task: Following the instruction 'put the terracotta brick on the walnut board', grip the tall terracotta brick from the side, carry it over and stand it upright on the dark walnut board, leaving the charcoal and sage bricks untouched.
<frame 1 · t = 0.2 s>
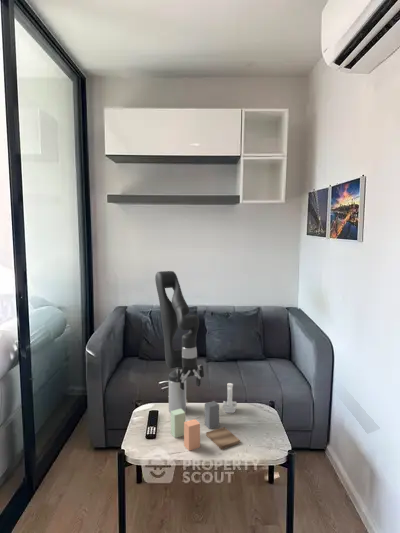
hand: (190, 387, 185), 18 cm above the table, tool pointing down, fingers open, 8 cm apart
charcoal brick: (211, 425, 184), on the table
walnut board: (222, 439, 171), on the table
sage brick: (178, 434, 176), on the table
terracotta brick: (192, 446, 166), on the table
figurine: (229, 411, 198), on the table
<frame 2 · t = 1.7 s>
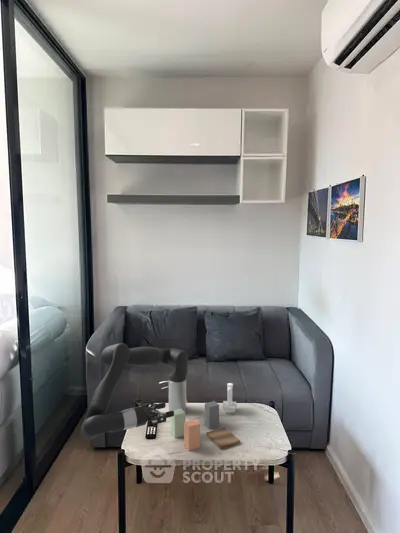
hand: (169, 408, 158), 20 cm above the table, tool horizontal, fingers open, 8 cm apart
nothing on the table moved.
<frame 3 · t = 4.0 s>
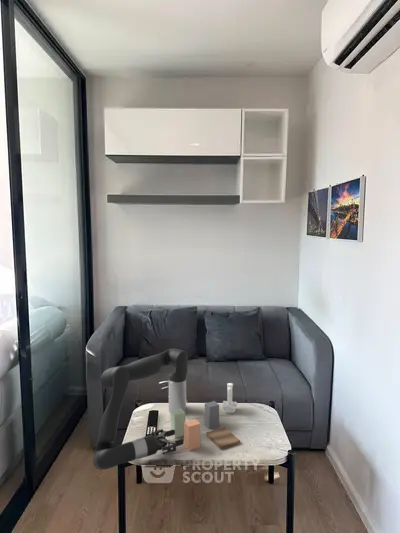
hand: (178, 436, 162), 6 cm above the table, tool horizontal, fingers open, 8 cm apart
nothing on the table moved.
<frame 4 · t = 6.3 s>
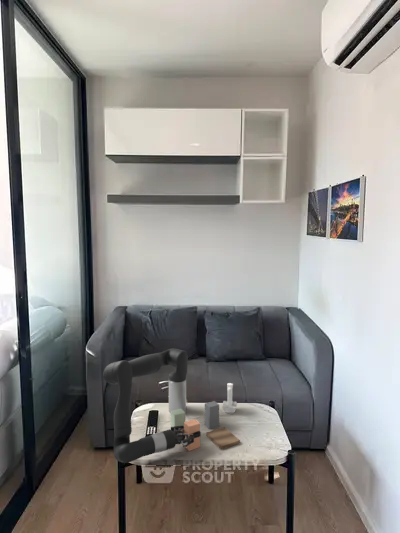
hand: (197, 430, 167), 7 cm above the table, tool horizontal, fingers closed on terracotta brick, 4 cm apart
terracotta brick: (191, 446, 166), on the table, touching gripper
everything else where it was.
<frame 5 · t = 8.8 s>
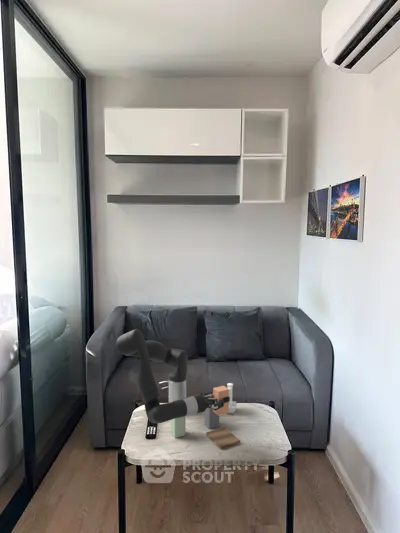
hand: (226, 396, 170), 20 cm above the table, tool horizontal, fingers closed on terracotta brick, 4 cm apart
terracotta brick: (220, 411, 170), point 13 cm above the table, touching gripper
everything else where it was.
when the fingers open (9 cm above the table, at t = 11.8 s): terracotta brick drops 1 cm, resting on walnut board.
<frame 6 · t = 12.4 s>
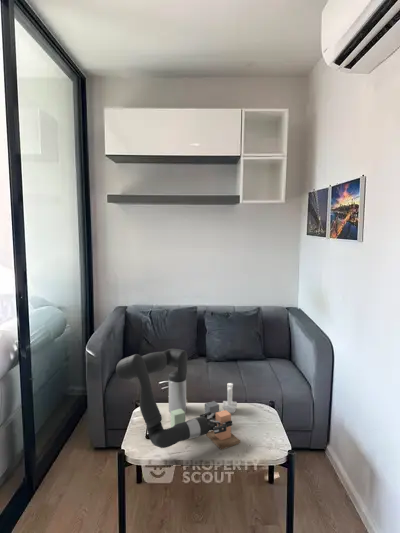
hand: (226, 418, 171), 10 cm above the table, tool horizontal, fingers open, 8 cm apart
terracotta brick: (223, 436, 171), point 1 cm above the table, touching walnut board
everything else where it was.
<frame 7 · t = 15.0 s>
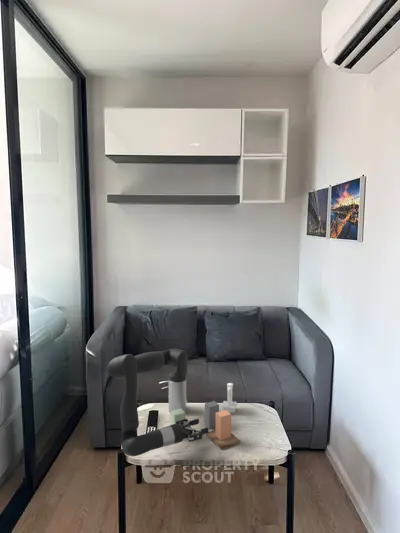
hand: (203, 425, 165), 10 cm above the table, tool horizontal, fingers open, 8 cm apart
nothing on the table moved.
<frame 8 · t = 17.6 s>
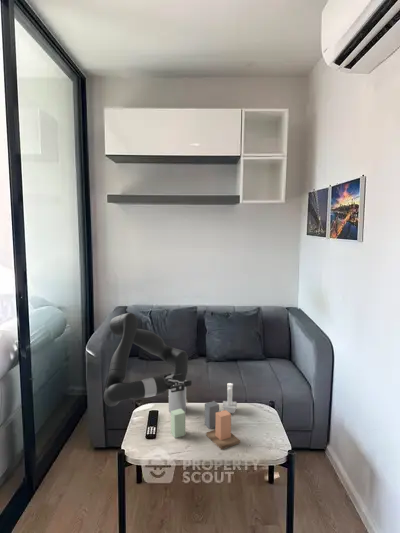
hand: (186, 379, 165), 30 cm above the table, tool horizontal, fingers open, 8 cm apart
nothing on the table moved.
at the end: terracotta brick inside the target area on the walnut board (0.1 cm from its centre), point 1.5 cm above the walnut board's base; charcoal brick moved 0.0 cm from its start; sage brick moved 0.0 cm from its start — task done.
